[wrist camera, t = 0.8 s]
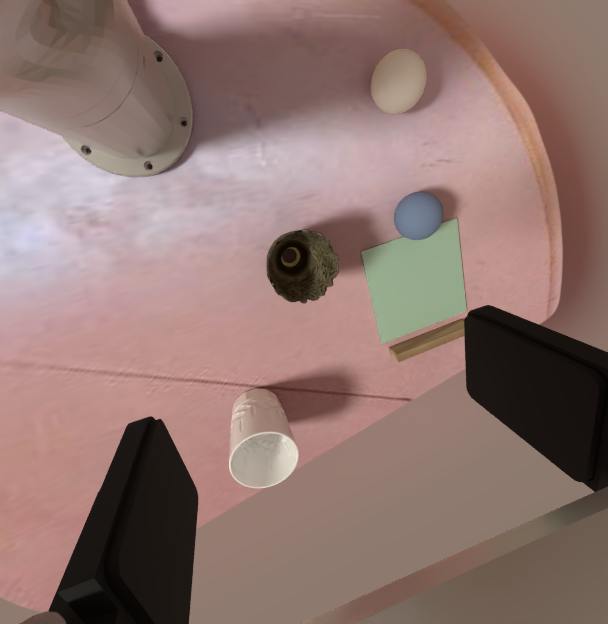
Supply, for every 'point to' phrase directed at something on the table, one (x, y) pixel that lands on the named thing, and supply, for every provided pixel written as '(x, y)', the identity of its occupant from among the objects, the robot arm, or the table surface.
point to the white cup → (261, 440)
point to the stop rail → (428, 340)
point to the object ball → (418, 215)
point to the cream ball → (398, 81)
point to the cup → (302, 266)
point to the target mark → (415, 281)
